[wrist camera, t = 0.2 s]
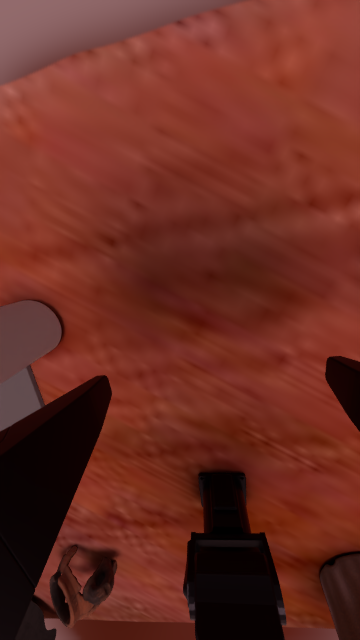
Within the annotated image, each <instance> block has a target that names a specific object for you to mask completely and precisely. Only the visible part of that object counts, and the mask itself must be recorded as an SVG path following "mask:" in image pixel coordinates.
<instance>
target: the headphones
mask: <svg viewBox="0 0 360 640" xmlns="http://www.w3.org/2000/svg"><path fill="white" fill-rule="evenodd" d="M76 551H77V547H76V546H73V547H72V548H71V549H70V550H69V551H68V553H67V554H65V555H64V557H63V558H62V560H61V562H60V564H59V567H58V570H57V572H56V573H55V574H54V575H53V576H52V577H51V579H50V593H51V598H52V602H53V605H54V608H55V610H56V613H57V615H58V617H59V619H60V620H61V621H62V623H63V624H64V625H65V626H66V627H68V628H72V627H73V626H74V624H75V623H76V622H77V620H81V619H84V618H87V617H88V616H90V615H91V614H92V613H93V612H94V611H95V610H96V608H97V607H98V606H99V605H100V603H101V602H103V601H105V600H106V598H107V597H108V596H109V595H110V593H111V591H112V588H113V585H114V575H115V573H116V569H117V567H116V561H115V560H114V561H113V564H112V565H111V560H109V559H108V558H106V557H104V558H103V560H102V562H101V564H100V565H99V567H98V568H97V570H96V571H95V572H94V573H93V575H92V576H91V577H90V578H89V579H88V581H87V583H86V585H85V587H84V589H83V594H81V593H80V592H79V591H80V589H81V585H80V584H79V583H78V581H77V578H76V577H75V576H74V575H73V574H72V571H71V569H70V568H69V567H68V564H69V562H70V560H71V558H72V557H73V555H74V554H75V553H76ZM61 573H62V575H61ZM65 598H66V600H67V603H65Z"/></svg>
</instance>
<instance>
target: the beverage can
mask: <svg viewBox="0 0 360 640" xmlns="http://www.w3.org/2000/svg"><path fill="white" fill-rule="evenodd" d="M61 334H62V331H61V325H60V322H59V320H58V318H57V317H56V315H55V314H54V313H53V311H52V310H51V309H49V308H48V307H47V306H45V305H44V304H42V303H39V302H37V301H32V300H24V301H20V302H16V303H12V304H8V305H5V306H1V307H0V384H1V383H3V382H4V381H6V380H7V379H9V378H10V377H12V376H13V375H15V374H16V373H18V372H19V371H21V370H23V369H24V368H26V367H27V366H29V365H30V364H32V363H33V362H35V361H36V360H38V359H39V358H41V357H42V356H44V355H45V354H47V353H48V352H50V351H51V350H53V349H54V348H55V347H56V346H57V345H58V343H59V342H60V339H61Z"/></svg>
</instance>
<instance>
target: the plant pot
mask: <svg viewBox="0 0 360 640" xmlns="http://www.w3.org/2000/svg"><path fill="white" fill-rule="evenodd" d="M320 581H321V585H322V588H323V591H324V594H325V597H326V600H327V603H328V606H329V609H330V612H331V616H332V619H333V622H334V625H335V628H336V631H337V634H338V637H339V640H360V553H357V554H350V555H346V556H342V557H339V558H337V559H335V563H334V565H331V566H330V565H328V564H326V565H325V566H324V567H323V569H322V570H321V573H320Z"/></svg>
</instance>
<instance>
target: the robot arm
mask: <svg viewBox="0 0 360 640" xmlns="http://www.w3.org/2000/svg"><path fill="white" fill-rule="evenodd" d="M325 377H326V381H327V383H328V384H329V386H330V388H331V389H332V391H333V392H334V394H335V396H336V397H337V399H338V401H339V402H340V404H341V405H342V407H343V409H344V410H345V412H346V413H347V415H348V416H349V418H350V419H351V421H352V422H353V423H354V425H355V426H356V427H357V429H358V430H359V431H360V362H359V361H355V360H352V359H349V358H346V357H342V356H333V357H329V358H328V359H327V362H326V373H325ZM111 396H112V391H111V387H110V384H109V380H108V377H107V376H105V375H101V376H96V377H94V378H92V379H90V380H89V381H87V382H85V383H83V384H82V385H80V386H78V387H77V388H75V389H73V390H71V391H70V392H68V393H66V394H64V395H63V396H61V397H59V398H57V399H56V400H54V401H52V402H50V403H49V404H47V405H45V406H44V407H42V408H40V409H38V410H37V411H35V412H33V413H31V414H30V415H28V416H26V417H24V418H23V419H21V420H19V421H17V422H16V423H14V424H12V425H11V426H9V427H7V428H5V429H4V430H2V431H0V640H15V638H16V636H17V633H18V631H19V628H20V626H21V623H22V621H23V619H24V616H25V614H26V611H27V609H28V607H29V604H30V602H31V599H32V597H33V594H34V592H35V588H36V587H37V584H38V582H39V579H40V577H41V575H42V572H43V570H44V567H45V565H46V563H47V560H48V558H49V555H50V553H51V551H52V548H53V546H54V543H55V541H56V538H57V536H58V534H59V531H60V529H61V526H62V524H63V522H64V519H65V517H66V514H67V512H68V509H69V507H70V505H71V502H72V500H73V497H74V495H75V493H76V490H77V488H78V485H79V483H80V480H81V478H82V476H83V473H84V471H85V468H86V466H87V464H88V461H89V459H90V456H91V454H92V451H93V449H94V447H95V444H96V442H97V439H98V437H99V434H100V432H101V429H102V426H103V423H104V420H105V417H106V413H107V410H108V407H109V403H110V400H111ZM199 487H200V495H201V504H202V507H203V514H204V533H196V532H191V540H190V541H188V545H187V564H186V571H185V578H184V584H183V593H184V595H185V597H186V599H187V601H188V607H189V613H190V619H191V620H195V636H196V640H285V639H284V634H283V629H282V625H286V614H285V608H284V603H283V598H282V593H281V589H280V584H279V580H278V576H277V573H276V569H275V566H274V563H273V559H272V556H271V552H270V549H269V546H268V542H267V539H266V536H265V533H264V532H260V533H251V530H250V524H249V519H248V514H247V509H246V478H245V474H244V473H200V474H199Z"/></svg>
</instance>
